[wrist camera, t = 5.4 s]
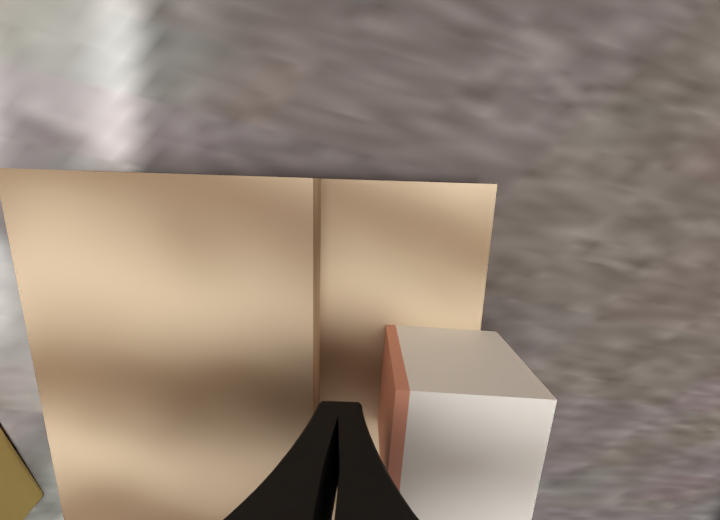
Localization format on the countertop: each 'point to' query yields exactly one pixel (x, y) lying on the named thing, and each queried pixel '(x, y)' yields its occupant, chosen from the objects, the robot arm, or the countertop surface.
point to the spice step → (221, 318)
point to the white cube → (461, 424)
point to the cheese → (15, 484)
